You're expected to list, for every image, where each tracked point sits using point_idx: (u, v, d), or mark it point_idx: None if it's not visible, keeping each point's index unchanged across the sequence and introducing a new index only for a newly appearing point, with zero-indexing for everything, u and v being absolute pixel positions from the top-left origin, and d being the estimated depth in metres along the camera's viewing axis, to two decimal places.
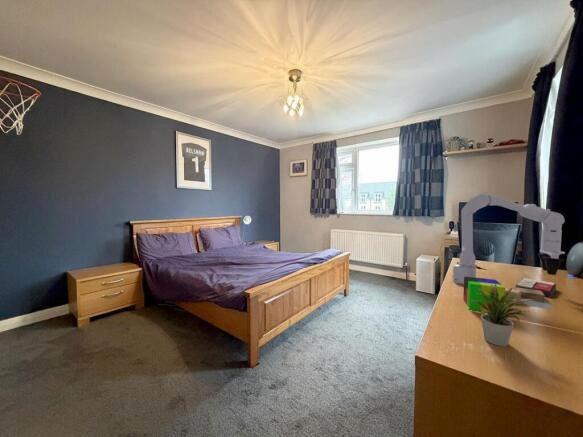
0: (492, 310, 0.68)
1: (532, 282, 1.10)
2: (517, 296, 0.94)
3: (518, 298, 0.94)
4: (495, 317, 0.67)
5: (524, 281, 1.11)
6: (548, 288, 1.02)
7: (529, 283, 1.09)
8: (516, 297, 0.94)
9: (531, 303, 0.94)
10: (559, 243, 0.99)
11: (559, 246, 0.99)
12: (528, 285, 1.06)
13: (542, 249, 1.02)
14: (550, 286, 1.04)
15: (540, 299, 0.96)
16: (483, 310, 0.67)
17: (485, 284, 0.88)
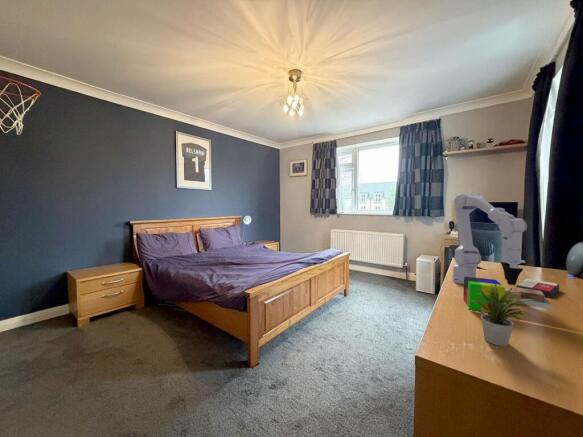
0: (492, 310, 0.68)
1: (534, 282, 1.09)
2: (517, 296, 0.94)
3: (518, 298, 0.94)
4: (495, 317, 0.67)
5: (526, 281, 1.11)
6: (549, 288, 1.02)
7: (531, 283, 1.08)
8: (516, 297, 0.94)
9: (531, 303, 0.94)
10: (519, 251, 0.93)
11: (519, 255, 0.94)
12: (529, 285, 1.06)
13: (503, 258, 0.97)
14: (552, 287, 1.04)
15: (540, 299, 0.96)
16: (483, 310, 0.67)
17: (485, 284, 0.88)
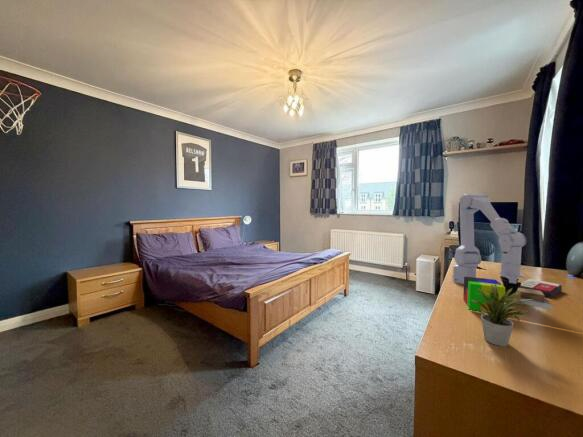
0: (492, 310, 0.68)
1: (535, 283, 1.09)
2: (517, 296, 0.94)
3: (518, 298, 0.94)
4: (495, 317, 0.67)
5: (527, 281, 1.11)
6: (550, 289, 1.02)
7: (532, 283, 1.08)
8: (516, 297, 0.94)
9: (531, 303, 0.94)
10: (518, 266, 0.94)
11: (519, 269, 0.94)
12: (529, 285, 1.06)
13: (502, 272, 0.97)
14: (553, 287, 1.03)
15: (540, 299, 0.96)
16: (483, 310, 0.67)
17: (485, 284, 0.88)
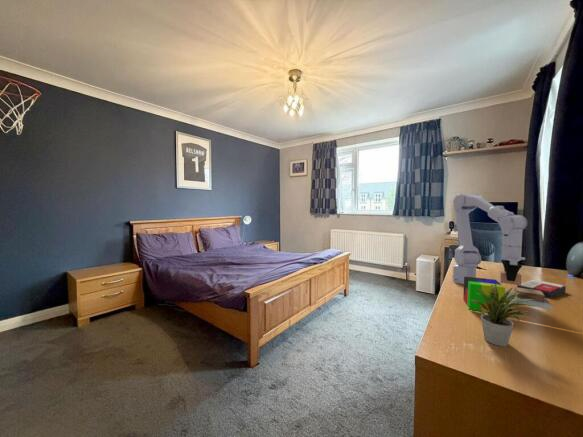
0: (492, 310, 0.68)
1: (538, 283, 1.08)
2: (518, 278, 0.94)
3: (519, 280, 0.94)
4: (495, 317, 0.67)
5: (529, 282, 1.10)
6: (550, 289, 1.01)
7: (533, 284, 1.08)
8: (517, 279, 0.94)
9: (531, 303, 0.94)
10: (519, 248, 0.93)
11: (520, 252, 0.94)
12: (530, 285, 1.06)
13: (503, 255, 0.97)
14: (555, 288, 1.02)
15: (540, 299, 0.96)
16: (483, 310, 0.67)
17: (485, 284, 0.88)
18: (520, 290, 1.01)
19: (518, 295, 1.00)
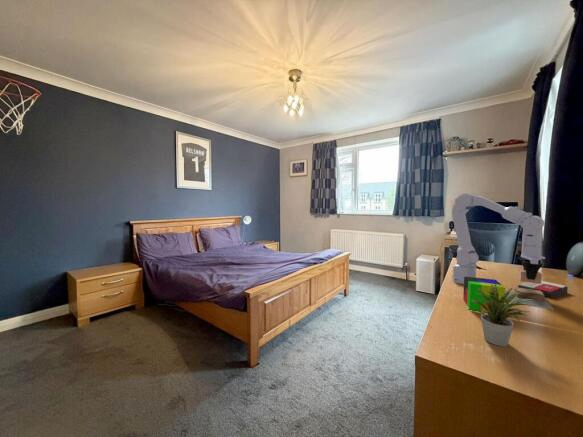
0: (492, 310, 0.68)
1: None
2: (538, 277, 0.97)
3: (539, 279, 0.97)
4: (495, 317, 0.67)
5: None
6: (551, 289, 1.01)
7: (534, 284, 1.07)
8: (537, 278, 0.97)
9: (531, 303, 0.94)
10: (539, 248, 0.97)
11: (540, 251, 0.97)
12: (531, 285, 1.06)
13: (523, 254, 1.00)
14: (556, 288, 1.02)
15: (540, 299, 0.96)
16: (483, 310, 0.67)
17: (485, 284, 0.88)
18: (520, 290, 1.01)
19: (518, 295, 1.00)
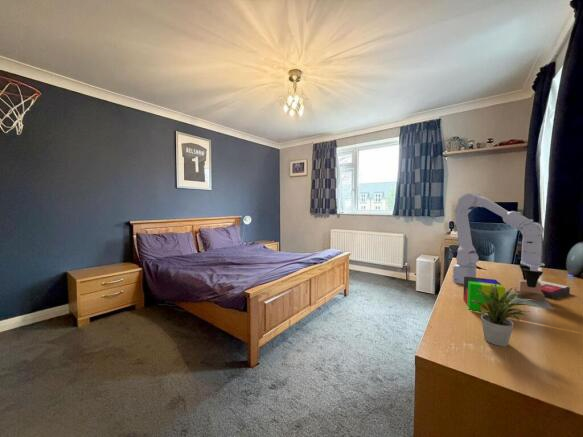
0: (492, 310, 0.68)
1: (541, 284, 1.07)
2: (537, 287, 0.97)
3: (538, 289, 0.97)
4: (495, 317, 0.67)
5: None
6: (553, 290, 1.00)
7: None
8: (536, 288, 0.97)
9: (531, 303, 0.94)
10: (539, 255, 0.97)
11: (539, 258, 0.97)
12: None
13: (522, 261, 1.00)
14: (558, 288, 1.02)
15: (540, 299, 0.96)
16: (483, 310, 0.67)
17: (485, 284, 0.88)
18: None
19: (518, 295, 1.00)
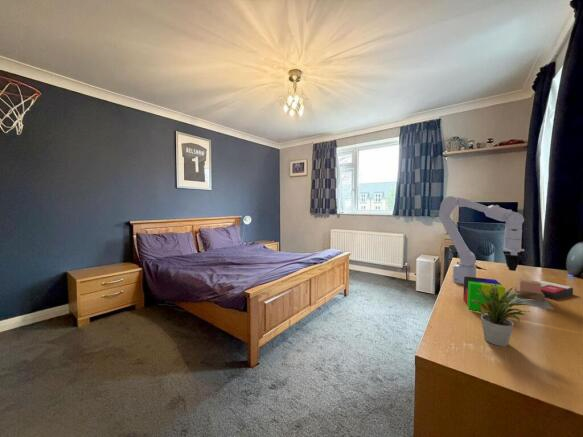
0: (492, 310, 0.68)
1: (543, 284, 1.07)
2: (537, 287, 0.97)
3: (538, 289, 0.97)
4: (495, 317, 0.67)
5: None
6: (555, 290, 1.00)
7: None
8: (536, 288, 0.97)
9: (531, 303, 0.94)
10: (519, 241, 1.06)
11: (519, 244, 1.06)
12: None
13: (505, 247, 1.10)
14: (560, 289, 1.01)
15: (540, 299, 0.96)
16: (483, 310, 0.67)
17: (485, 284, 0.88)
18: None
19: (518, 295, 1.00)
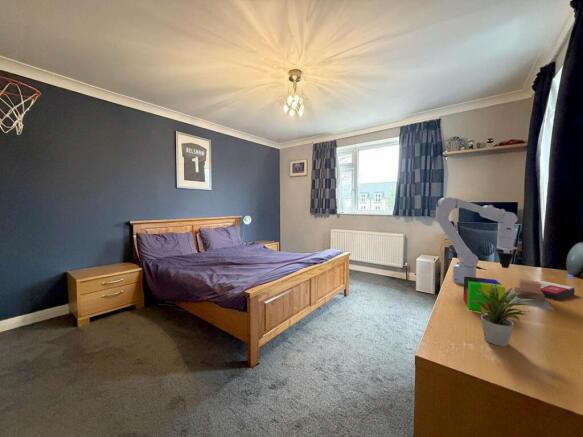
0: (492, 310, 0.68)
1: (545, 285, 1.06)
2: (537, 287, 0.97)
3: (538, 289, 0.97)
4: (495, 317, 0.67)
5: None
6: (557, 291, 0.99)
7: None
8: (536, 288, 0.97)
9: (531, 303, 0.94)
10: (512, 239, 1.10)
11: (512, 242, 1.10)
12: None
13: (498, 245, 1.14)
14: (562, 289, 1.00)
15: (540, 299, 0.96)
16: (483, 310, 0.67)
17: (485, 284, 0.88)
18: None
19: (518, 295, 1.00)
